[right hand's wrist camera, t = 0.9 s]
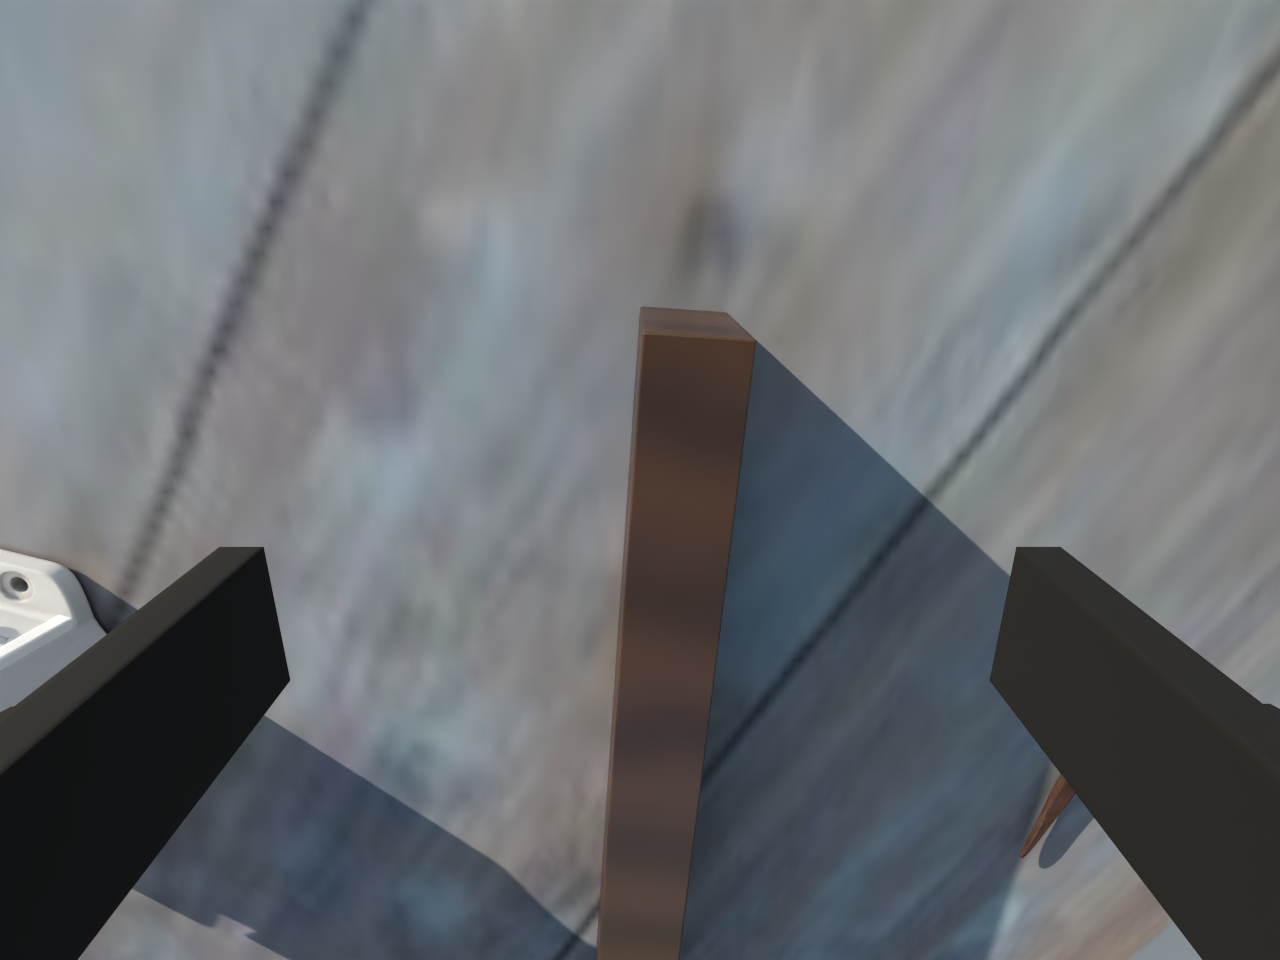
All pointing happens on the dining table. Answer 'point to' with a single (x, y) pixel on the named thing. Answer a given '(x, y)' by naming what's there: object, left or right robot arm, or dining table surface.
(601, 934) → the walnut beam
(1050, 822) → the fork
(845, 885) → the dining table surface
